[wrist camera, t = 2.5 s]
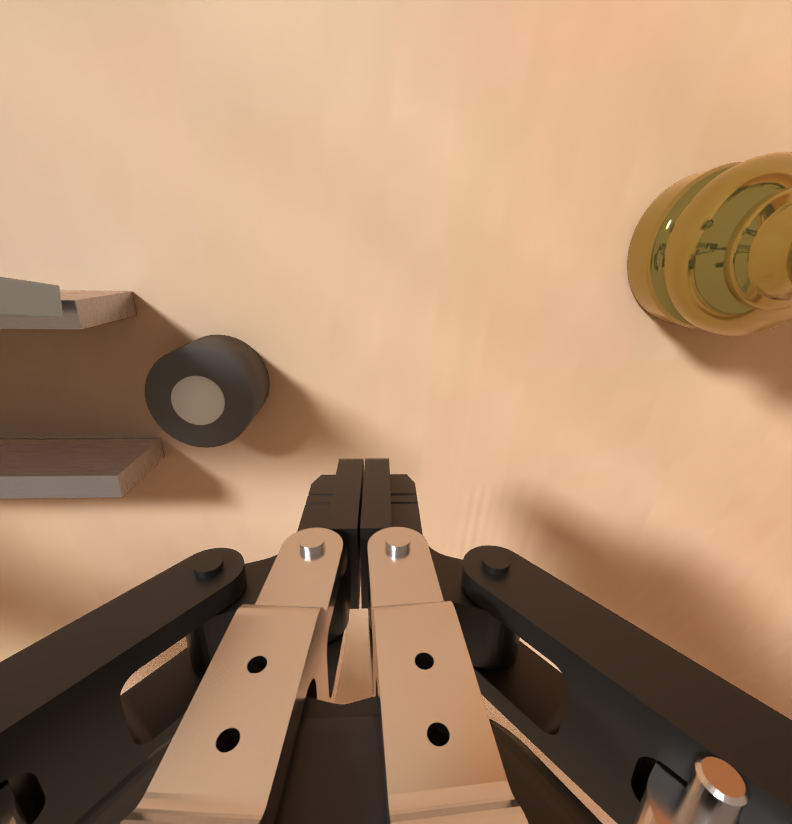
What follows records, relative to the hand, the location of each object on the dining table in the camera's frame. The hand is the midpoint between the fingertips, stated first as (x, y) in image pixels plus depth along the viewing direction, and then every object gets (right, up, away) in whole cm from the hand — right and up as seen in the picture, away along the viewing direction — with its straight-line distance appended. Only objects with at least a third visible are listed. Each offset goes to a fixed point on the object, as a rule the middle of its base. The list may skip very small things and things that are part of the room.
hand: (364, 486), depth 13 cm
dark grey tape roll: (-9, +4, +11) cm, 14 cm away
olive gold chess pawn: (+16, +11, +9) cm, 22 cm away
